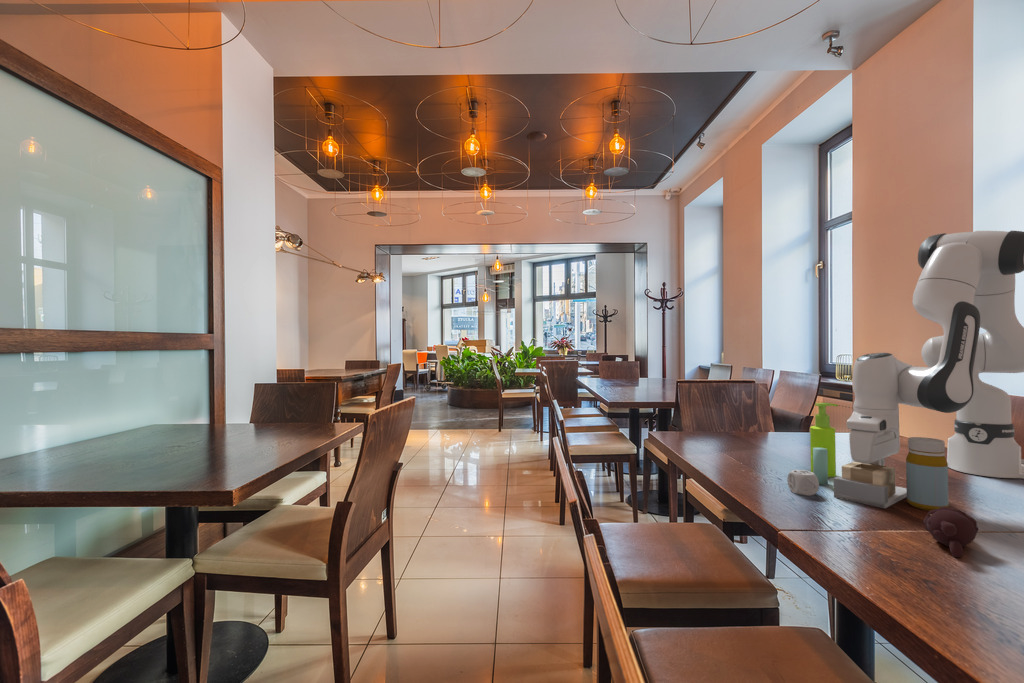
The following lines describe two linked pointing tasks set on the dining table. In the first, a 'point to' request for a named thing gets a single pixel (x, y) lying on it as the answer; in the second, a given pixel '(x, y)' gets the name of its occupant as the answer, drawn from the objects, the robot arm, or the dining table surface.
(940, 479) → the bottle
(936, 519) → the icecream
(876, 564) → the dining table surface
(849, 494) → the grey l-shaped tray
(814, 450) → the dowel
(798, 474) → the die
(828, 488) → the dining table surface
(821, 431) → the soap dispenser
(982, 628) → the dining table surface
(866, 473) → the block
